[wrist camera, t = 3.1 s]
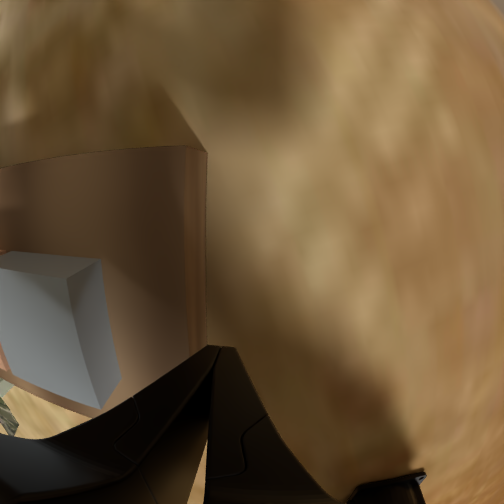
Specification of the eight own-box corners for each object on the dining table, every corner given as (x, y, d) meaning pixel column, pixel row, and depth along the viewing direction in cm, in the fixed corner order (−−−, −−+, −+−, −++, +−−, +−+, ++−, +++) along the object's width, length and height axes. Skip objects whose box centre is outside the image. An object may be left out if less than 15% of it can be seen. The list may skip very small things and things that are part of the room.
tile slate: (100, 258, 9) (66, 278, 7) (121, 378, 10) (101, 409, 8) (12, 251, 9) (-21, 264, 7) (36, 353, 10) (12, 374, 8)
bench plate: (207, 152, 11) (185, 145, 8) (210, 401, 14) (199, 443, 11) (-12, 176, 11) (-47, 181, 8) (20, 353, 14) (-5, 374, 11)
